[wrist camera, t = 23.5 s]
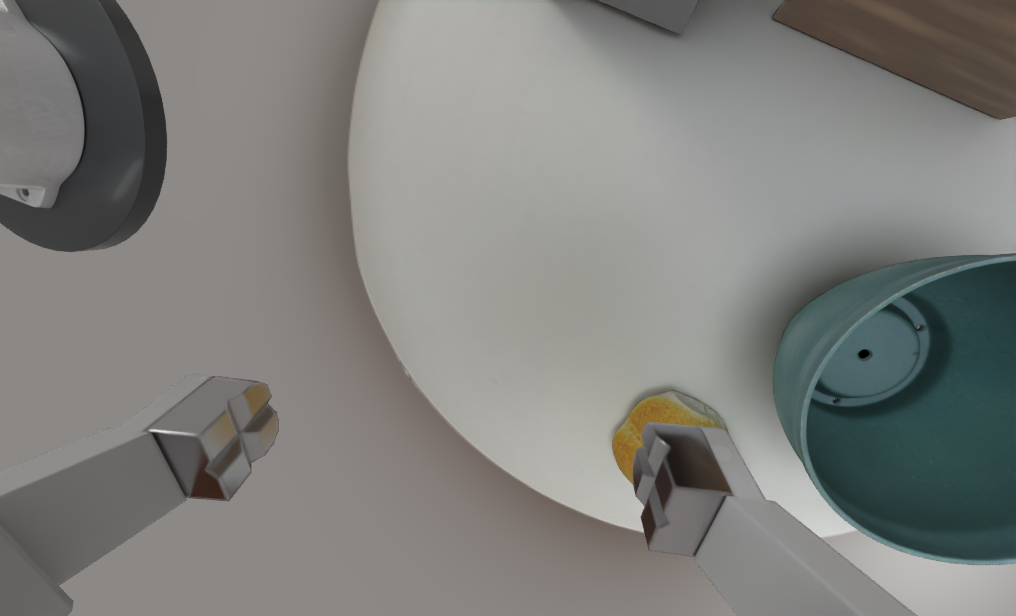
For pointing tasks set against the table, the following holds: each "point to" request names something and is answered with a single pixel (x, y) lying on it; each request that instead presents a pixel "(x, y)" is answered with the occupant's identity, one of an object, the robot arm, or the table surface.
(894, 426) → the flower pot
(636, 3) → the perfume bottle
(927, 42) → the cupboard door
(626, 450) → the bread roll
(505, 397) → the table surface
